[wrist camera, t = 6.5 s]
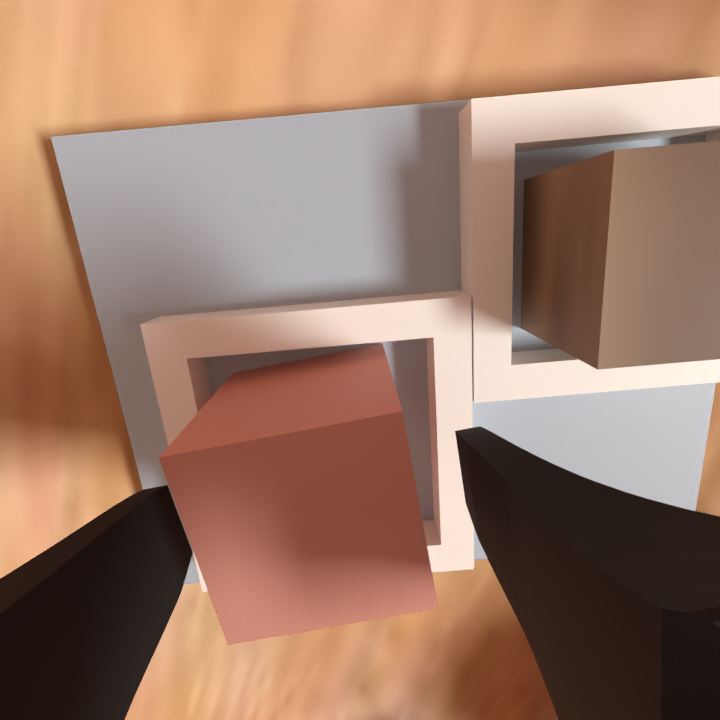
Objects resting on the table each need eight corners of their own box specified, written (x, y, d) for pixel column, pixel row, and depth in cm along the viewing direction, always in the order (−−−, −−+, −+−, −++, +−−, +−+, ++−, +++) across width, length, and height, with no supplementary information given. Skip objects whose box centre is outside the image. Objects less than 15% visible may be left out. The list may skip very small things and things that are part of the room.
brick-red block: (382, 343, 12) (402, 411, 8) (407, 477, 14) (438, 608, 9) (232, 372, 12) (158, 457, 8) (271, 502, 14) (228, 644, 9)
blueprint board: (730, 86, 12) (816, 52, 9) (669, 522, 15) (719, 567, 13) (75, 144, 12) (14, 124, 10) (179, 564, 16) (151, 615, 13)
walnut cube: (675, 166, 11) (845, 129, 7) (658, 316, 12) (798, 352, 8) (524, 179, 11) (614, 149, 7) (520, 328, 12) (597, 369, 8)
